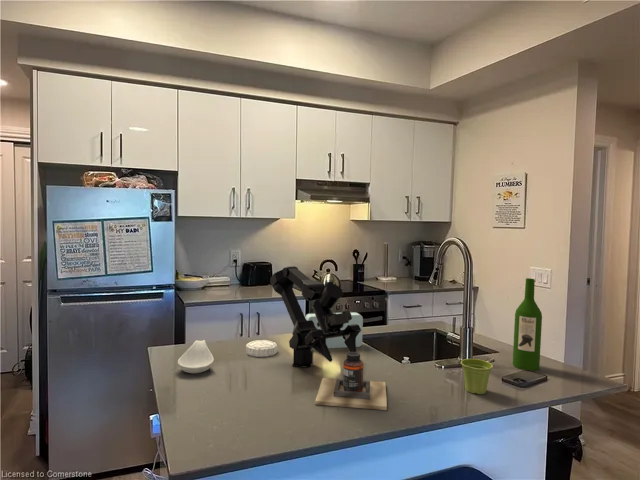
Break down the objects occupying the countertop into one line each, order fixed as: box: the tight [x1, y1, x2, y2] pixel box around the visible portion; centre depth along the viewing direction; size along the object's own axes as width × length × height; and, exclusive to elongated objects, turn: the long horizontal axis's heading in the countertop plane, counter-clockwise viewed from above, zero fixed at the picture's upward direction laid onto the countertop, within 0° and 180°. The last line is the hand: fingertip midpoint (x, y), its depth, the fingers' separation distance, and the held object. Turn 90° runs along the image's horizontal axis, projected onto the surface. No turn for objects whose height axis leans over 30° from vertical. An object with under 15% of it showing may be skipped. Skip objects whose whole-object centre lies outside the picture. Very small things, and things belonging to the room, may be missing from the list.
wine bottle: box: [512, 277, 543, 372], centre depth 157 cm, size 9×9×32 cm
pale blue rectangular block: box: [305, 312, 364, 350], centre depth 176 cm, size 23×6×13 cm, turn 104°
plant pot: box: [460, 358, 494, 395], centre depth 134 cm, size 9×9×9 cm
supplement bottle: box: [342, 351, 364, 392], centre depth 129 cm, size 6×6×11 cm
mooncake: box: [245, 339, 278, 358], centre depth 167 cm, size 12×12×4 cm
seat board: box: [314, 377, 388, 411], centre depth 129 cm, size 20×18×2 cm
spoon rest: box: [177, 339, 215, 374], centre depth 151 cm, size 24×12×7 cm, turn 10°
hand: (343, 359), depth 132 cm, fingers open, 9 cm apart
